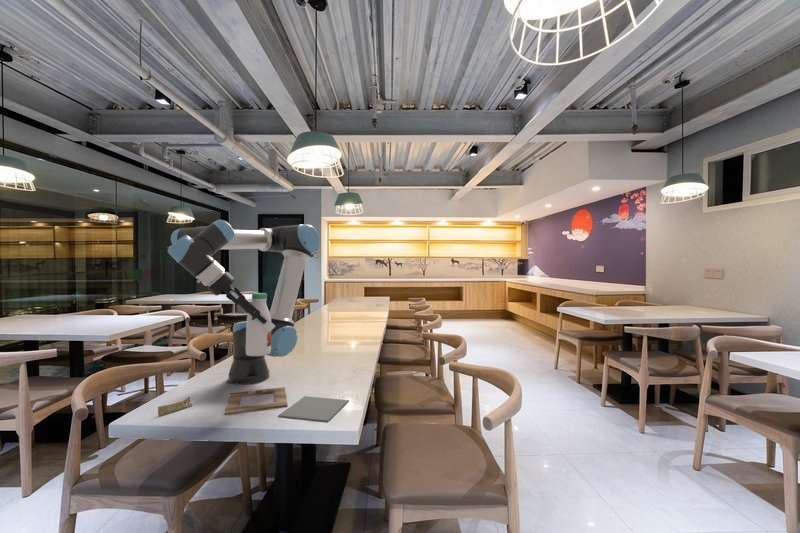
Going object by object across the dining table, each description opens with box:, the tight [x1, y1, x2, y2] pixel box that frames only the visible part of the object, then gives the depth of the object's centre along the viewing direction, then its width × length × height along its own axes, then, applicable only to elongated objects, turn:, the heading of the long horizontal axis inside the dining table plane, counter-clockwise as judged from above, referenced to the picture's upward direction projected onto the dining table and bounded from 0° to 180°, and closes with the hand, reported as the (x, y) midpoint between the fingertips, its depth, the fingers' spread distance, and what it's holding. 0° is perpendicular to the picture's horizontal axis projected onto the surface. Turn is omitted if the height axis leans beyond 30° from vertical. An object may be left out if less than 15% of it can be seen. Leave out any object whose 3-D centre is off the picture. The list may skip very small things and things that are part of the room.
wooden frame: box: [224, 386, 288, 416], centre depth 118 cm, size 18×18×1 cm
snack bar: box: [157, 396, 193, 417], centre depth 110 cm, size 10×2×3 cm, turn 147°
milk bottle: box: [246, 292, 271, 356], centre depth 117 cm, size 8×8×20 cm
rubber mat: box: [277, 395, 350, 423], centre depth 111 cm, size 16×16×1 cm
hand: (269, 327), depth 118 cm, fingers closed on milk bottle, 7 cm apart
